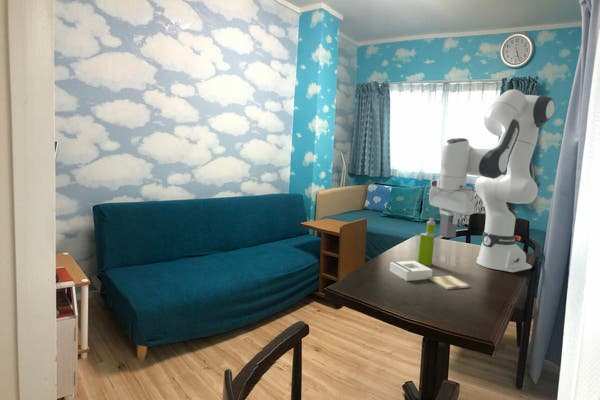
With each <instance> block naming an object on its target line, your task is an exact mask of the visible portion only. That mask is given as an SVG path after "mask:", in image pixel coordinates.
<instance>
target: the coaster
mask: <svg viewBox="0 0 600 400" xmlns="http://www.w3.org/2000/svg"><path fill="white" fill-rule="evenodd" d="M428 281H431V282H432V283H434V284H435V285H438V286H439V287H441V288H444V289H445V290H456V289H465V288H470V286H471V285H470V284H468V283H466V282H464V281H462V280H460V279H458V277H457V278H456V277H454V276H452V275H444V276H443V275H442V276H432V277H429V279H428Z"/></svg>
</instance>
